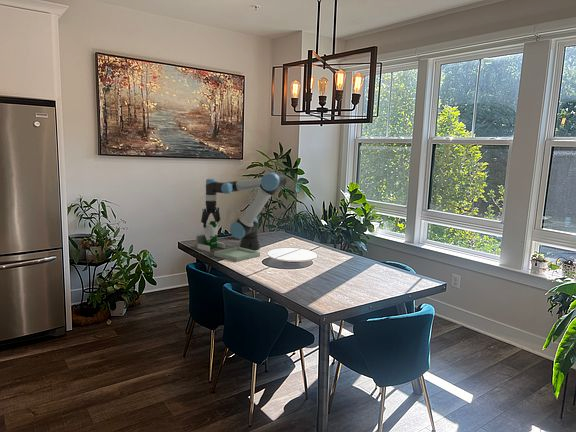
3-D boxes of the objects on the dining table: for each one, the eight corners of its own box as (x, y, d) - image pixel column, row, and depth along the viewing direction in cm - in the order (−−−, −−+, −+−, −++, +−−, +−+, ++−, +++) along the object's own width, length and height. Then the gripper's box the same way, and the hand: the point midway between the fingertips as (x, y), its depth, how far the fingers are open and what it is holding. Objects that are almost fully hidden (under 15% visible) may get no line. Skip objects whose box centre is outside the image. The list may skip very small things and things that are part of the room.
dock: (225, 248, 309) (225, 236, 307) (208, 251, 297) (208, 238, 295) (212, 244, 317) (212, 233, 316) (196, 248, 305) (196, 235, 304)
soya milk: (210, 250, 301) (210, 222, 298) (201, 247, 306) (202, 220, 303) (219, 248, 308) (219, 221, 304) (211, 246, 313) (211, 219, 310)
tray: (259, 256, 288) (260, 252, 288) (236, 262, 271) (236, 257, 271) (237, 250, 302) (237, 246, 302) (214, 255, 285) (214, 251, 285)
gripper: (218, 198, 312) (218, 228, 316) (195, 200, 296) (195, 232, 299) (225, 199, 308) (225, 230, 311) (202, 202, 291) (202, 234, 295)
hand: (210, 231), depth 305 cm, fingers closed on soya milk, 9 cm apart
